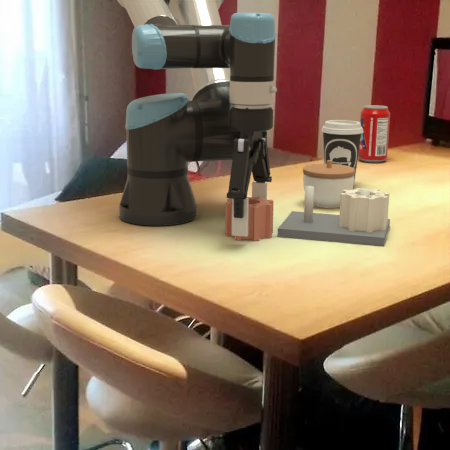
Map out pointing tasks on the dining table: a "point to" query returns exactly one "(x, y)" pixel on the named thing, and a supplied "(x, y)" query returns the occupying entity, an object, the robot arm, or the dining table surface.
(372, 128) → the soda can
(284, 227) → the gear board
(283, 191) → the dining table surface
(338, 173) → the lidded jar
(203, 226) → the dining table surface
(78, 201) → the dining table surface
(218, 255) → the dining table surface
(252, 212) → the gear
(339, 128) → the coffee cup
